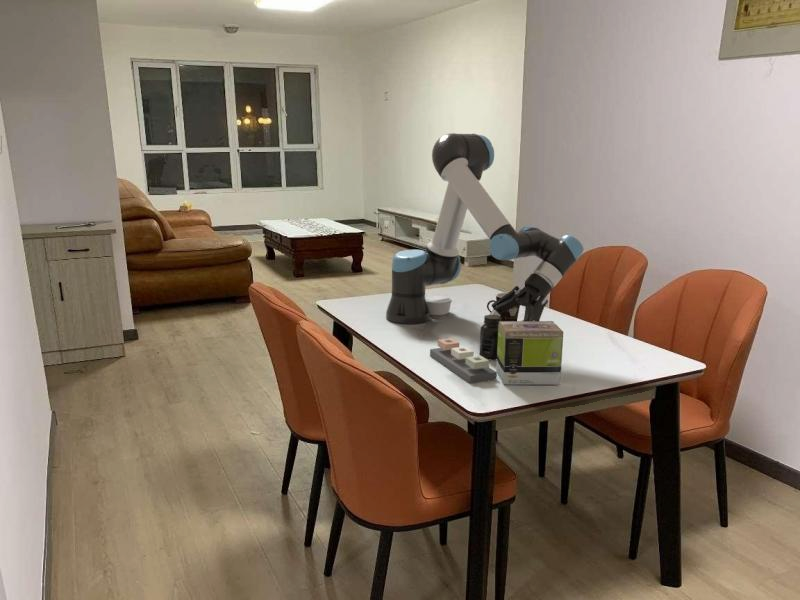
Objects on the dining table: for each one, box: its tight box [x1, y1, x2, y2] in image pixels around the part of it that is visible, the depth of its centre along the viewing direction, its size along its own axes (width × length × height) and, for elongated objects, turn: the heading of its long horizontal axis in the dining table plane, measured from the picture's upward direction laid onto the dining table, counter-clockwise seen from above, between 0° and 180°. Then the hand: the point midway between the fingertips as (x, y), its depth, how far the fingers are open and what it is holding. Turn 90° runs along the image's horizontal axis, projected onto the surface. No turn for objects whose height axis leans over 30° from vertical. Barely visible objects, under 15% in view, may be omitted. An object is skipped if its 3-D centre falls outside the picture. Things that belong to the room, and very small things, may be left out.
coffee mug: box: [486, 292, 521, 321], centre depth 217 cm, size 12×9×10 cm
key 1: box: [437, 337, 460, 351], centre depth 181 cm, size 4×4×2 cm
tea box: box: [496, 320, 564, 386], centre depth 166 cm, size 15×10×15 cm
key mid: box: [451, 346, 475, 359], centre depth 174 cm, size 4×4×2 cm
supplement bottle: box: [478, 314, 501, 361], centre depth 183 cm, size 7×7×12 cm
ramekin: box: [425, 294, 453, 316], centre depth 230 cm, size 11×11×5 cm
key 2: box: [465, 354, 490, 369], centre depth 167 cm, size 4×4×2 cm
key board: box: [429, 347, 498, 384], centre depth 175 cm, size 23×8×2 cm, turn 24°
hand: (495, 335), depth 182 cm, fingers open, 13 cm apart
